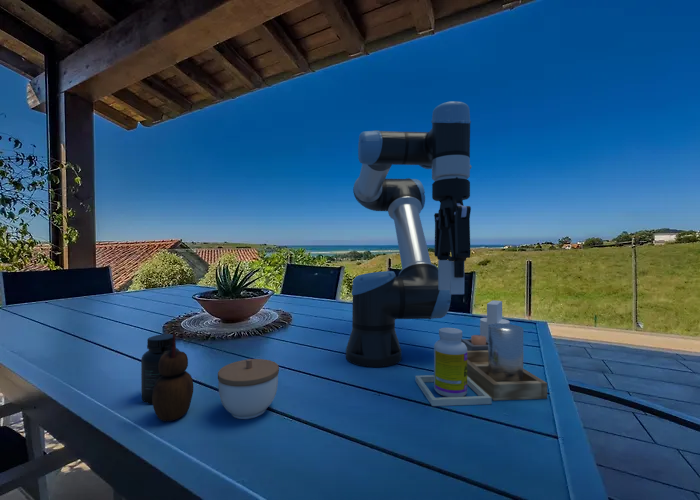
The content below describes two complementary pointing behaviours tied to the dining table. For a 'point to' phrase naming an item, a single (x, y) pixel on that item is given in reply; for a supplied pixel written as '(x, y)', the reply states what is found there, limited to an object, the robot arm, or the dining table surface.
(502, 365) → the billet
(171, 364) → the wooden figurine
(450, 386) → the supplement bottle
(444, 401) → the rectangular frame
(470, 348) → the gray open box
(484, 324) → the cylinder with rectangular tab
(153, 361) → the supplement bottle
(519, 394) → the wooden tray
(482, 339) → the pink block
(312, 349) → the dining table surface
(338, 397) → the dining table surface
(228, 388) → the lidded jar
